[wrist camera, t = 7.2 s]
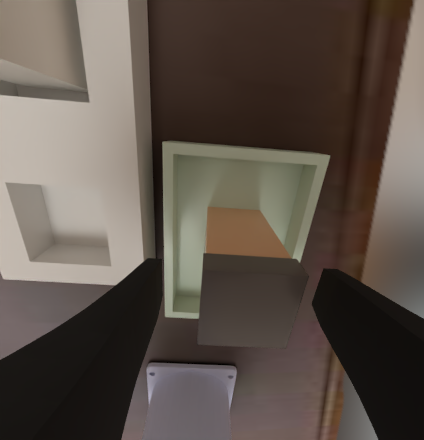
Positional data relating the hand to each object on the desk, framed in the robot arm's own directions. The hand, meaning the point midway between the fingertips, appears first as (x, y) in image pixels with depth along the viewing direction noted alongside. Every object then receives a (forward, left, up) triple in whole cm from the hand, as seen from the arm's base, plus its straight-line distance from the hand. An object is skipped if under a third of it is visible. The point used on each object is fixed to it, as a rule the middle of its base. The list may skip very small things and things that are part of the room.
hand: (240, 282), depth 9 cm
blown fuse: (0, 0, -4) cm, 4 cm away
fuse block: (+5, +9, -5) cm, 11 cm away
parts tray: (0, 0, -5) cm, 5 cm away
